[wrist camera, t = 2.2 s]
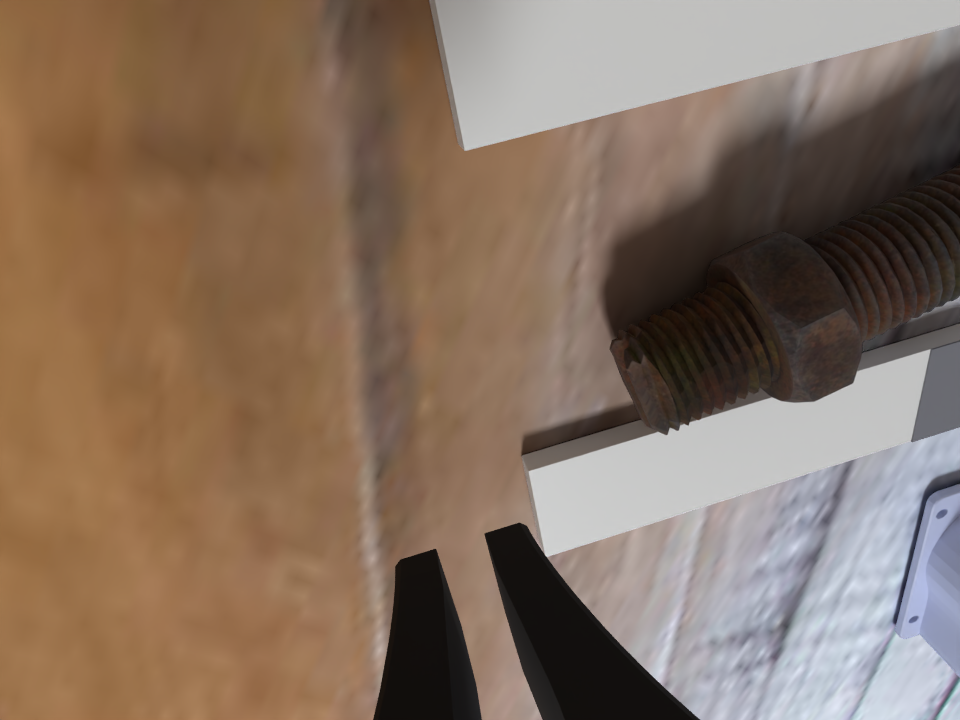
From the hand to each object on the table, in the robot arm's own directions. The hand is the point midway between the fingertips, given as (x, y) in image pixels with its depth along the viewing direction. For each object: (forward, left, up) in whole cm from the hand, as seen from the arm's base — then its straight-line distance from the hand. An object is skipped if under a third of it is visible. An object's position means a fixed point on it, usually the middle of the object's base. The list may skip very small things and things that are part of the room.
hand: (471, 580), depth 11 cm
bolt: (0, -13, -9) cm, 16 cm away
